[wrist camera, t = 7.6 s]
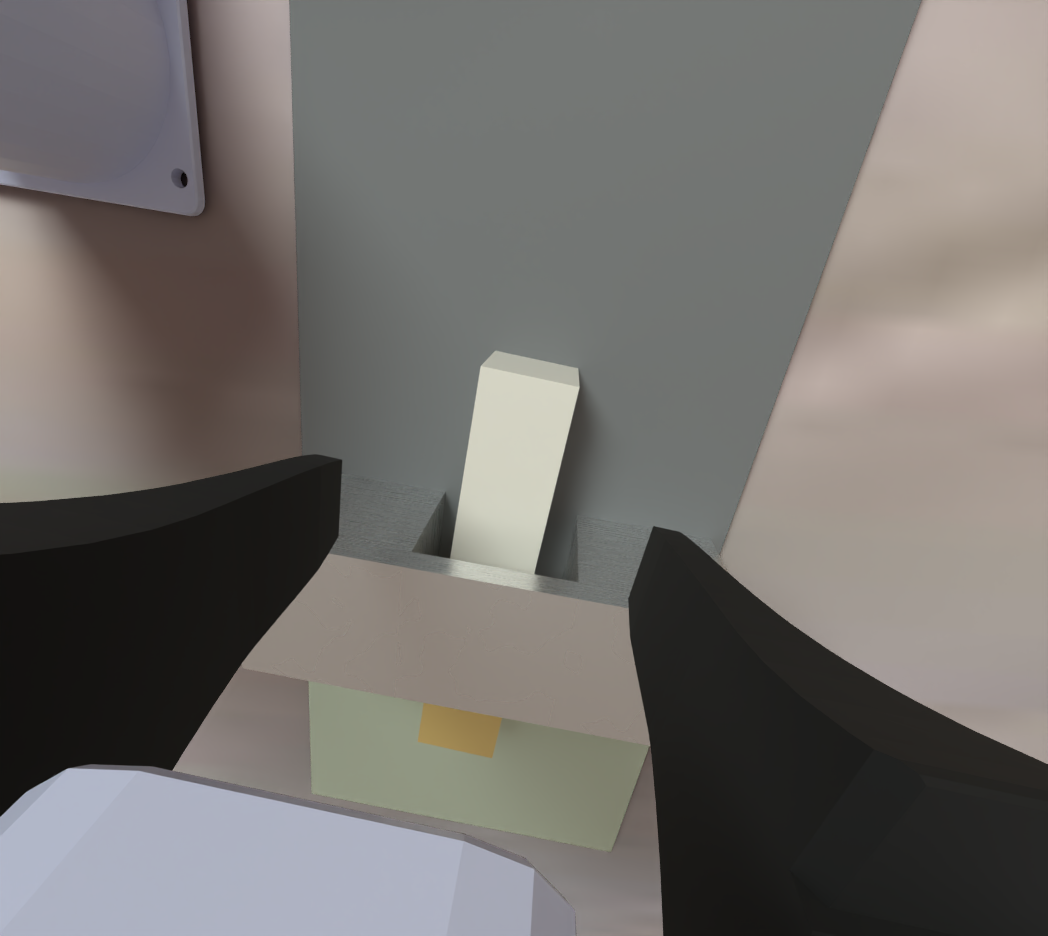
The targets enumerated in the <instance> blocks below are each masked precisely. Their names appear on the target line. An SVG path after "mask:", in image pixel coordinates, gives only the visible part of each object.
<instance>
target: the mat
mask: <svg viewBox="0 0 1048 936" xmlns="http://www.w3.org/2000/svg"><path fill="white" fill-rule="evenodd" d="M920 3H921V0H289V5H290V41H291V76H292V112H293V148H294V183H295V219H296V254H297V290H298V326H299V361H300V397H301V432H302V456H304V455H312V454H318V455H323V456H328V457H332V458H337V459H342V473H344V474H349V475H355V476H361V477H366V478H372V479H377V480H383V481H389V482H394V483H400V484H405V485H411V486H417V487H422V488H428V489H433V490H439V491H445V500H444V510H443V520H442V530H441V540H440V550H439V557H443V558H449V559H450V556H451V550H452V543H453V537H454V531H455V524H456V518H457V512H458V506H459V499H460V493H461V487H462V480H463V474H464V468H465V462H466V455H467V449H468V443H469V436H470V430H471V424H472V418H473V411H474V405H475V399H476V392H477V386H478V380H479V374H480V367H481V365H482V364H483V363H484V362H485V361H486V360H487V359H488V358H489V357H490V356H491V355H492V354H493V353H494V351H499V352H504V353H509V354H513V355H518V356H523V357H528V358H532V359H537V360H542V361H546V362H551V363H556V364H560V365H565V366H570V367H574V368H578V372H579V386H580V388H579V392H578V396H577V400H576V404H575V408H574V412H573V416H572V420H571V424H570V429H569V433H568V437H567V441H566V445H565V449H564V453H563V457H562V461H561V466H560V470H559V474H558V478H557V482H556V486H555V490H554V494H553V498H552V502H551V507H550V511H549V515H548V519H547V523H546V527H545V531H544V535H543V539H542V544H541V548H540V552H539V556H538V560H537V564H536V568H535V572H534V574H536V575H542V576H547V577H553V578H558V579H563V577H564V572H565V567H566V563H567V558H568V554H569V549H570V545H571V540H572V536H573V531H574V527H575V522H576V518H577V515H579V516H584V517H590V518H596V519H601V520H607V521H612V522H618V523H624V524H629V525H635V526H640V527H646V528H653V526H656V527H660V528H665V529H670V530H674V531H679V532H681V533H683V534H685V535H691V536H696V537H702V538H708V539H711V541H712V542H713V544H714V546H715V548H716V550H717V552H718V554H720V552H721V549H722V546H723V543H724V541H725V538H726V535H727V532H728V530H729V527H730V524H731V521H732V519H733V516H734V513H735V510H736V508H737V505H738V502H739V499H740V497H741V494H742V491H743V488H744V486H745V483H746V480H747V477H748V475H749V472H750V469H751V467H752V464H753V461H754V458H755V456H756V453H757V450H758V447H759V445H760V442H761V439H762V436H763V434H764V431H765V428H766V425H767V423H768V420H769V417H770V414H771V412H772V409H773V406H774V403H775V401H776V398H777V395H778V392H779V390H780V387H781V384H782V381H783V379H784V376H785V373H786V371H787V368H788V365H789V362H790V360H791V357H792V354H793V351H794V349H795V346H796V343H797V340H798V338H799V335H800V332H801V329H802V327H803V324H804V321H805V318H806V316H807V313H808V310H809V307H810V305H811V302H812V299H813V296H814V294H815V291H816V288H817V285H818V283H819V280H820V277H821V275H822V272H823V269H824V266H825V264H826V261H827V258H828V255H829V253H830V250H831V247H832V244H833V242H834V239H835V236H836V233H837V231H838V228H839V225H840V222H841V220H842V217H843V214H844V211H845V209H846V206H847V203H848V200H849V198H850V195H851V192H852V189H853V187H854V184H855V181H856V179H857V176H858V173H859V170H860V168H861V165H862V162H863V159H864V157H865V154H866V151H867V148H868V146H869V143H870V140H871V137H872V135H873V132H874V129H875V126H876V124H877V121H878V118H879V115H880V113H881V110H882V107H883V104H884V102H885V99H886V96H887V93H888V91H889V88H890V85H891V83H892V80H893V77H894V74H895V72H896V69H897V66H898V63H899V61H900V58H901V55H902V52H903V50H904V47H905V44H906V41H907V39H908V36H909V33H910V30H911V28H912V25H913V22H914V19H915V17H916V14H917V11H918V8H919V6H920ZM308 682H309V717H310V753H311V788H312V794H316V795H321V796H326V797H331V798H336V799H342V800H347V801H352V802H357V803H362V804H367V805H372V806H377V807H382V808H387V809H393V810H398V811H403V812H408V813H413V814H418V815H423V816H428V817H433V818H438V819H444V820H449V821H454V822H459V823H464V824H469V825H474V826H479V827H484V828H489V829H495V830H500V831H505V832H510V833H515V834H520V835H525V836H530V837H535V838H540V839H546V840H551V841H556V842H561V843H566V844H571V845H576V846H581V847H586V848H591V849H597V850H602V851H607V852H611V851H612V848H613V845H614V842H615V840H616V837H617V834H618V831H619V829H620V826H621V823H622V820H623V818H624V815H625V812H626V809H627V807H628V804H629V801H630V798H631V796H632V793H633V790H634V787H635V785H636V782H637V779H638V776H639V774H640V771H641V768H642V766H643V763H644V760H645V757H646V755H647V752H648V749H649V746H648V745H643V744H637V743H632V742H627V741H622V740H616V739H611V738H606V737H601V736H595V735H590V734H585V733H580V732H574V731H569V730H564V729H559V728H553V727H548V726H543V725H537V724H532V723H527V722H522V721H516V720H511V719H506V718H502V720H501V725H500V729H499V733H498V737H497V741H496V745H495V749H494V753H493V757H492V758H488V757H484V756H479V755H475V754H470V753H466V752H461V751H457V750H452V749H448V748H443V747H439V746H434V745H430V744H425V743H421V742H418V736H419V729H420V723H421V717H422V710H423V704H424V703H422V702H416V701H411V700H406V699H401V698H395V697H390V696H385V695H380V694H374V693H369V692H364V691H359V690H353V689H348V688H343V687H338V686H332V685H327V684H322V683H317V682H311V681H308Z"/></svg>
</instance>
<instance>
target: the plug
mask: <svg viewBox="0 0 1048 936" xmlns="http://www.w3.org/2000/svg"><path fill="white" fill-rule="evenodd" d="M579 388H580V386H579V372H578V368H574V367H570V366H565V365H560V364H556V363H551V362H546V361H542V360H537V359H532V358H528V357H523V356H518V355H513V354H509V353H504V352H499V351H494V353H493V354H492V355H491V356H490V357H489V358H488V359H487V360H486V361H485V362H484V363H483V364H482V365H481V367H480V374H479V380H478V386H477V392H476V399H475V405H474V411H473V418H472V424H471V430H470V436H469V443H468V449H467V455H466V462H465V468H464V474H463V480H462V487H461V493H460V499H459V506H458V512H457V518H456V524H455V531H454V537H453V543H452V550H451V556H450V559H454V560H460V561H465V562H471V563H476V564H482V565H487V566H493V567H498V568H504V569H509V570H514V571H520V572H525V573H531V574H534V572H535V568H536V564H537V560H538V556H539V552H540V548H541V544H542V539H543V535H544V531H545V527H546V523H547V519H548V515H549V511H550V507H551V502H552V498H553V494H554V490H555V486H556V482H557V478H558V474H559V470H560V466H561V461H562V457H563V453H564V449H565V445H566V441H567V437H568V433H569V429H570V424H571V420H572V416H573V412H574V408H575V404H576V400H577V396H578V392H579ZM501 720H502V718H501V717H495V716H490V715H485V714H480V713H474V712H469V711H464V710H459V709H453V708H448V707H443V706H438V705H432V704H427V703H424V704H423V710H422V717H421V723H420V729H419V736H418V742H421V743H425V744H430V745H434V746H439V747H443V748H448V749H452V750H457V751H461V752H466V753H470V754H475V755H479V756H484V757H488V758H492V757H493V753H494V749H495V745H496V741H497V737H498V733H499V729H500V725H501Z"/></svg>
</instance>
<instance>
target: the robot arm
mask: <svg viewBox="0 0 1048 936" xmlns="http://www.w3.org/2000/svg"><path fill="white" fill-rule="evenodd" d="M183 172H185V174H186V175H187V178H188V183H187V186H186V187H184V186H183V185H182V182H181V174H182V173H183ZM0 185H6V186H12V187H18V188H24V189H30V190H36V191H42V192H48V193H54V194H60V195H66V196H72V197H78V198H84V199H90V200H96V201H102V202H108V203H114V204H120V205H126V206H132V207H138V208H145V209H151V210H157V211H163V212H169V213H175V214H181V215H187V216H198V215H199V214H201V213H202V211H203V209H204V208H205V195H204V184H203V173H202V163H201V152H200V141H199V130H198V119H197V108H196V97H195V86H194V76H193V65H192V54H191V43H190V32H189V21H188V10H187V0H0ZM341 477H342V459H337V458H332V457H328V456H323V455H318V454H312V455H304V456H299V457H294V458H289V459H285V460H281V461H277V462H273V463H269V464H265V465H261V466H257V467H253V468H249V469H245V470H241V471H237V472H233V473H228V474H224V475H219V476H215V477H210V478H205V479H201V480H196V481H192V482H187V483H183V484H177V485H172V486H166V487H161V488H155V489H148V490H141V491H134V492H127V493H120V494H112V495H104V496H93V497H82V498H70V499H59V500H48V501H35V502H17V503H0V936H576V916H575V910H574V909H573V907H572V906H571V905H570V904H569V903H568V902H567V900H566V899H565V898H564V897H563V896H562V895H561V894H560V893H559V892H558V891H557V890H556V889H555V888H554V887H553V886H552V885H551V883H550V882H549V881H548V880H547V879H546V878H545V877H544V876H543V875H542V874H541V873H540V872H539V871H538V870H537V869H536V868H535V867H534V866H533V865H532V864H531V863H530V862H529V861H528V860H527V859H526V858H524V857H521V856H519V855H516V854H514V853H511V852H509V851H506V850H504V849H501V848H499V847H496V846H494V845H491V844H489V843H486V842H484V841H481V840H479V839H476V838H474V837H471V836H468V835H466V834H462V833H458V832H453V831H449V830H444V829H439V828H435V827H430V826H425V825H421V824H416V823H412V822H407V821H402V820H398V819H393V818H388V817H384V816H379V815H375V814H370V813H365V812H361V811H356V810H351V809H347V808H342V807H337V806H333V805H328V804H324V803H319V802H314V801H310V800H305V799H300V798H296V797H291V796H287V795H282V794H277V793H273V792H268V791H263V790H259V789H254V788H250V787H245V786H240V785H236V784H231V783H226V782H222V781H217V780H213V779H208V778H203V777H199V776H194V775H189V774H185V773H180V772H175V771H172V770H173V768H174V767H175V765H176V763H177V762H178V760H179V758H180V757H181V755H182V754H183V752H184V751H185V749H186V747H187V746H188V744H189V743H190V741H191V740H192V738H193V736H194V735H195V733H196V732H197V730H198V729H199V727H200V725H201V724H202V722H203V721H204V719H205V718H206V716H207V714H208V713H209V711H210V710H211V708H212V707H213V705H214V704H215V702H216V701H217V699H218V698H219V696H220V695H221V693H222V692H223V690H224V689H225V687H226V686H227V684H228V683H229V681H230V680H231V678H232V677H233V675H234V674H235V673H236V671H237V670H238V668H239V667H240V665H241V664H242V662H243V661H244V660H245V659H246V657H247V656H248V655H249V653H250V652H251V651H252V649H253V648H254V647H255V646H256V644H257V643H258V642H259V641H260V640H261V638H262V637H263V636H264V635H265V634H266V632H267V631H268V630H269V629H270V628H271V626H272V625H273V624H274V623H275V622H276V620H277V619H278V618H279V617H280V616H281V615H282V613H283V612H284V611H285V610H286V609H287V607H288V606H289V605H290V604H291V603H292V601H293V600H294V599H295V598H296V597H297V595H298V594H299V593H300V592H301V591H302V589H303V588H304V587H305V586H306V585H307V583H308V582H309V581H310V580H311V578H312V577H313V576H314V575H315V573H316V572H317V571H318V570H319V568H320V566H321V565H322V563H323V562H324V560H325V558H326V557H327V555H328V554H329V552H330V550H331V549H332V547H333V545H334V543H335V542H336V540H337V538H338V537H339V518H340V497H341ZM628 606H629V628H630V640H631V645H632V651H633V656H634V661H635V667H636V672H637V677H638V682H639V687H640V692H641V697H642V702H643V707H644V712H645V717H646V722H647V727H648V733H649V740H650V746H651V753H652V764H653V775H654V786H655V797H656V810H657V825H658V839H659V854H660V872H661V893H662V914H663V936H1048V764H1046V763H1044V762H1041V761H1039V760H1037V759H1035V758H1033V757H1030V756H1028V755H1026V754H1024V753H1022V752H1019V751H1017V750H1015V749H1013V748H1011V747H1008V746H1006V745H1004V744H1002V743H1000V742H997V741H995V740H993V739H991V738H989V737H986V736H984V735H982V734H980V733H977V732H975V731H973V730H971V729H969V728H967V727H965V726H963V725H961V724H959V723H957V722H955V721H953V720H951V719H949V718H947V717H945V716H944V715H942V714H940V713H938V712H936V711H934V710H932V709H930V708H928V707H926V706H924V705H922V704H920V703H918V702H916V701H914V700H913V699H911V698H909V697H907V696H905V695H903V694H902V693H900V692H898V691H896V690H894V689H893V688H891V687H889V686H887V685H885V684H884V683H882V682H880V681H879V680H877V679H875V678H874V677H872V676H870V675H869V674H867V673H865V672H863V671H862V670H860V669H858V668H857V667H855V666H853V665H852V664H850V663H848V662H847V661H845V660H844V659H842V658H840V657H839V656H837V655H836V654H834V653H833V652H831V651H829V650H828V649H826V648H825V647H823V646H822V645H821V644H819V643H818V642H816V641H815V640H813V639H812V638H810V637H809V636H807V635H806V634H805V633H803V632H802V631H800V630H799V629H797V628H796V627H794V626H793V625H792V624H790V623H789V622H788V621H786V620H785V619H784V618H782V617H781V616H780V615H778V614H777V613H776V612H775V611H773V610H772V609H771V608H770V607H768V606H767V605H766V604H765V603H763V602H762V601H761V600H760V599H758V598H757V597H756V596H755V595H753V594H752V593H751V592H750V591H749V590H748V589H746V588H745V587H744V586H743V585H742V584H740V583H739V582H738V581H737V580H736V579H735V578H734V577H732V576H731V575H730V574H729V573H728V572H727V571H726V570H725V569H723V568H722V567H721V566H720V565H719V564H718V563H717V562H716V561H714V560H713V559H712V558H711V557H710V556H709V555H708V554H707V553H706V552H704V551H703V550H702V549H701V548H700V547H699V546H698V545H696V544H695V543H694V542H693V541H692V540H691V539H689V538H688V537H687V536H685V535H684V534H683V533H681V532H679V531H674V530H670V529H665V528H660V527H656V526H653V528H652V531H651V534H650V537H649V540H648V543H647V546H646V548H645V551H644V554H643V557H642V560H641V563H640V566H639V569H638V572H637V575H636V577H635V580H634V583H633V586H632V589H631V592H630V595H629V598H628Z"/></svg>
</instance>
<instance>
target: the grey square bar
mask: <svg viewBox="0 0 1048 936" xmlns="http://www.w3.org/2000/svg"><path fill="white" fill-rule="evenodd" d="M444 500H445V491H439V490H433V489H428V488H422V487H417V486H411V485H405V484H400V483H394V482H389V481H383V480H377V479H372V478H366V477H361V476H355V475H349V474H344V473H342V477H341V497H340V518H339V537H338V538H337V540H336V542H335V543H334V545H333V547H332V549H331V550H330V552H329V554H328V555H327V557H326V558H325V560H324V562H323V563H322V565H321V566H320V568H319V570H318V571H317V572H316V573H315V575H314V576H313V577H312V578H311V580H310V581H309V582H308V583H307V585H306V586H305V587H304V588H303V589H302V591H301V592H300V593H299V594H298V595H297V597H296V598H295V599H294V600H293V601H292V603H291V604H290V605H289V606H288V607H287V609H286V610H285V611H284V612H283V613H282V615H281V616H280V617H279V618H278V619H277V620H276V622H275V623H274V624H273V625H272V626H271V628H270V629H269V630H268V631H267V632H266V634H265V635H264V636H263V637H262V638H261V640H260V641H259V642H258V643H257V644H256V646H255V647H254V648H253V649H252V651H251V652H250V653H249V655H248V656H247V657H246V659H245V660H244V661H243V662H242V668H243V669H248V670H253V671H259V672H264V673H269V674H274V675H280V676H285V677H290V678H295V679H301V680H306V681H311V682H317V683H322V684H327V685H332V686H338V687H343V688H348V689H353V690H359V691H364V692H369V693H374V694H380V695H385V696H390V697H395V698H401V699H406V700H411V701H416V702H422V703H427V704H432V705H438V706H443V707H448V708H453V709H459V710H464V711H469V712H474V713H480V714H485V715H490V716H495V717H501V718H506V719H511V720H516V721H522V722H527V723H532V724H537V725H543V726H548V727H553V728H559V729H564V730H569V731H574V732H580V733H585V734H590V735H595V736H601V737H606V738H611V739H616V740H622V741H627V742H632V743H637V744H643V745H648V746H650V740H649V733H648V727H647V722H646V717H645V712H644V707H643V702H642V697H641V692H640V687H639V682H638V677H637V672H636V667H635V661H634V656H633V651H632V645H631V640H630V628H629V606H628V598H629V595H630V592H631V589H632V586H633V583H634V580H635V577H636V575H637V572H638V569H639V566H640V563H641V560H642V557H643V554H644V551H645V548H646V546H647V543H648V540H649V537H650V534H651V531H652V528H646V527H640V526H635V525H629V524H624V523H618V522H612V521H607V520H601V519H596V518H590V517H584V516H579V515H577V518H576V522H575V527H574V531H573V536H572V540H571V545H570V549H569V554H568V558H567V563H566V567H565V572H564V577H563V579H558V578H553V577H547V576H542V575H536V574H531V573H525V572H520V571H514V570H509V569H504V568H498V567H493V566H487V565H482V564H476V563H471V562H465V561H460V560H454V559H449V558H443V557H439V550H440V540H441V530H442V520H443V510H444ZM684 535H685V534H684ZM685 536H687V537H688V538H689V539H691V540H692V541H693V542H694V543H695V544H696V545H698V546H699V547H700V548H701V549H702V550H703V551H704V552H706V553H707V554H708V555H709V556H710V557H711V558H712V559H713V560H714V561H716V562H717V563H718V564H719V565H720V566H721V567H722V568H723V569H725V570H726V571H727V569H726V568H725V566H724V564H723V562H722V560H721V558H720V556H719V554H718V552H717V550H716V548H715V546H714V544H713V542H712V541H711V539H708V538H702V537H696V536H691V535H685ZM727 572H728V571H727Z"/></svg>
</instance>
